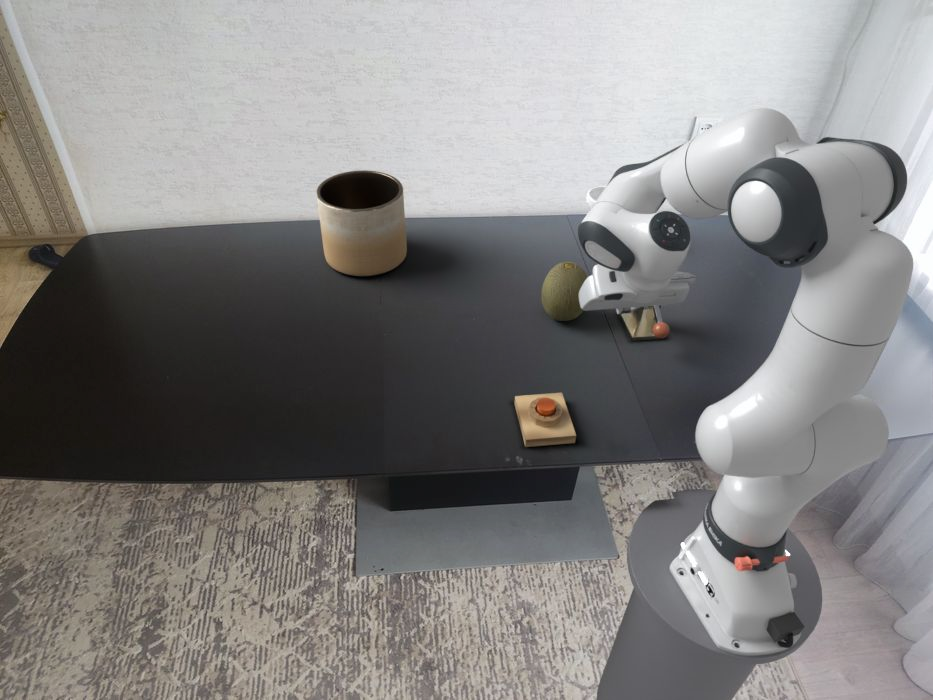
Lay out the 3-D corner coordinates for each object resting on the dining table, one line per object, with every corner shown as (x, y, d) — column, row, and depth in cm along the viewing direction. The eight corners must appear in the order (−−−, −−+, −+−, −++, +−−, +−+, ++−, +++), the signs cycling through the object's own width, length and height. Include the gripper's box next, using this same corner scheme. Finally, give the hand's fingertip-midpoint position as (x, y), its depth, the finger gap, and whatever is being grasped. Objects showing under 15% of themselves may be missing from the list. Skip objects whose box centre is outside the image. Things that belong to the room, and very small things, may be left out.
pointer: (667, 340, 147) (673, 333, 144) (652, 341, 147) (657, 335, 144) (654, 283, 152) (660, 276, 149) (639, 284, 152) (644, 277, 149)
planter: (324, 283, 169) (314, 213, 156) (325, 238, 185) (316, 171, 172) (410, 276, 172) (407, 208, 159) (403, 233, 188) (400, 167, 175)
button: (556, 416, 130) (557, 410, 129) (538, 417, 130) (539, 411, 129) (552, 403, 133) (553, 397, 132) (534, 404, 133) (535, 398, 131)
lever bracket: (664, 338, 155) (677, 291, 146) (631, 341, 154) (643, 293, 145) (650, 312, 162) (662, 266, 153) (618, 314, 161) (628, 268, 152)
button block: (574, 442, 130) (577, 429, 127) (525, 447, 129) (526, 433, 126) (560, 399, 139) (563, 386, 136) (514, 403, 138) (515, 389, 135)
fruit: (553, 296, 166) (559, 246, 157) (593, 312, 162) (602, 261, 152) (530, 319, 159) (535, 267, 149) (571, 336, 155) (580, 284, 145)
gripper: (695, 258, 120) (671, 292, 133) (585, 265, 119) (571, 299, 132) (703, 289, 118) (677, 320, 131) (590, 297, 117) (576, 328, 129)
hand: (623, 310), depth 131 cm, fingers closed
